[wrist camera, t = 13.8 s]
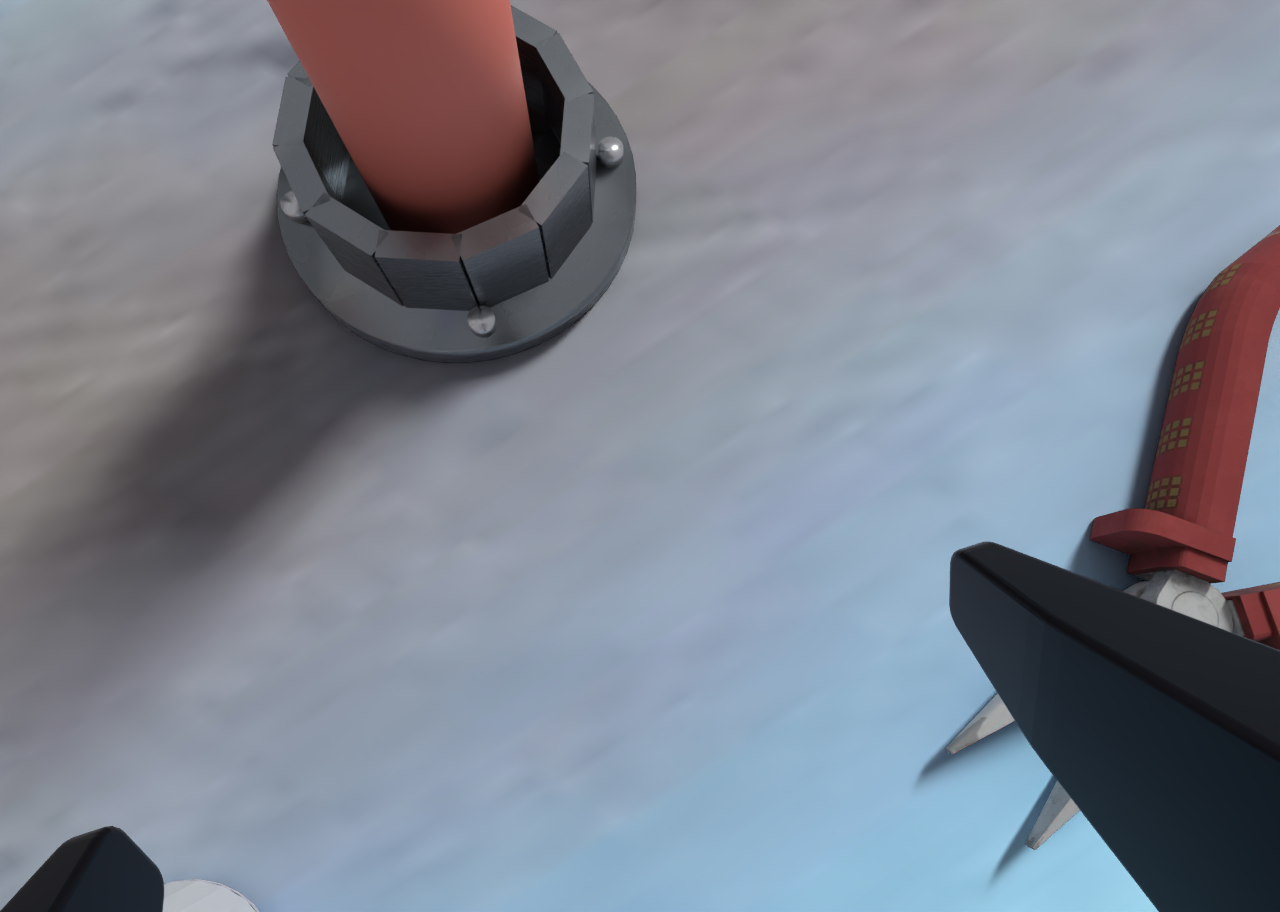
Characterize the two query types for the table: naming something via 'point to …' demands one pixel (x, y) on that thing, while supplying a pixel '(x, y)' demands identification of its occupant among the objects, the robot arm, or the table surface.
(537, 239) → the pipe socket
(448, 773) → the table surface
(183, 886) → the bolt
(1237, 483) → the pliers
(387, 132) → the orange capped cylinder
